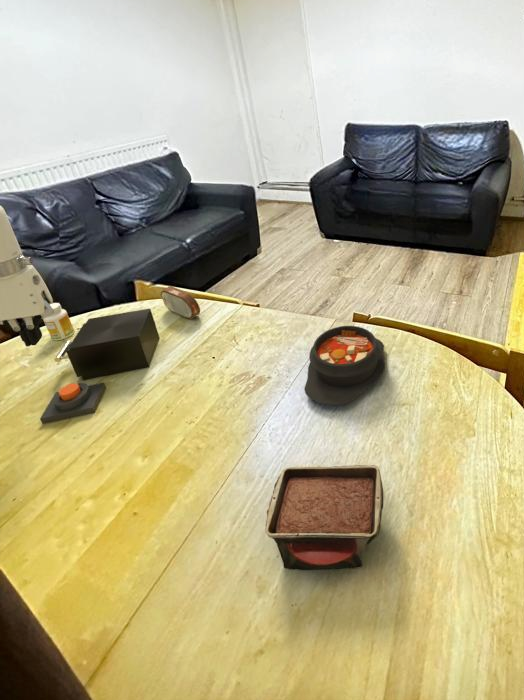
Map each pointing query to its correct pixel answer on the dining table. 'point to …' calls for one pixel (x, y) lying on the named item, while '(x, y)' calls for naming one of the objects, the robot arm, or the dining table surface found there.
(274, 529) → the baking dish
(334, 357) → the casserole
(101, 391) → the panel
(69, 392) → the button
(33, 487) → the dining table surface
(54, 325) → the supplement bottle
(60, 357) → the drawer
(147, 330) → the black rectangular box
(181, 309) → the tin
